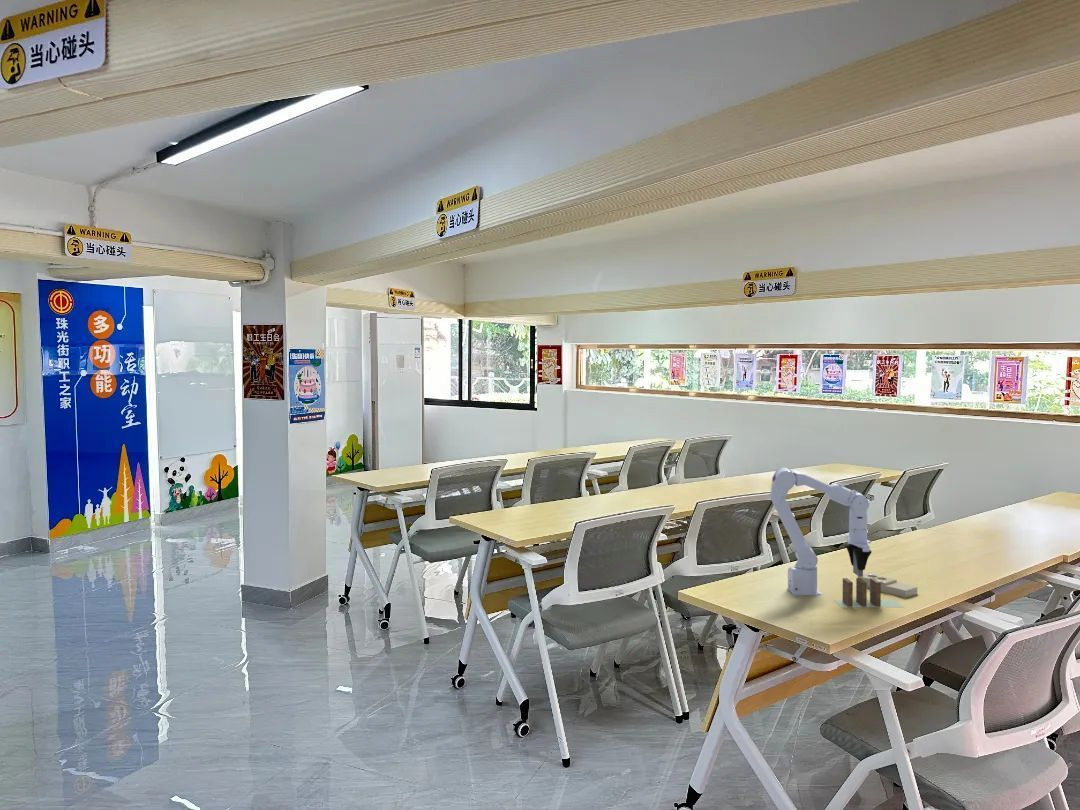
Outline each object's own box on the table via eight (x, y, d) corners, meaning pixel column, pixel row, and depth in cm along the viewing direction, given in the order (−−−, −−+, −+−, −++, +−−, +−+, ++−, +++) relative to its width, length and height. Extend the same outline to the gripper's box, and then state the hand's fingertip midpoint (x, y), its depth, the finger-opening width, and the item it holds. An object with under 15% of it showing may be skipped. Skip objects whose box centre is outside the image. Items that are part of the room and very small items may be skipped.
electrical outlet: (905, 587, 247) (857, 575, 262) (905, 599, 247) (857, 586, 262) (917, 584, 251) (869, 572, 266) (917, 595, 251) (869, 583, 266)
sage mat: (841, 608, 238) (841, 607, 238) (833, 601, 245) (833, 600, 245) (904, 607, 238) (904, 607, 238) (894, 601, 245) (894, 600, 245)
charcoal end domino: (858, 576, 249) (858, 553, 249) (853, 572, 254) (853, 549, 254) (863, 576, 249) (863, 553, 249) (857, 572, 254) (857, 549, 254)
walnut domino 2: (862, 606, 239) (862, 582, 238) (856, 601, 244) (856, 578, 243) (866, 606, 239) (866, 582, 238) (860, 601, 244) (860, 578, 243)
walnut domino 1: (848, 606, 239) (848, 582, 238) (842, 601, 244) (842, 578, 243) (852, 606, 239) (852, 582, 238) (846, 601, 244) (846, 578, 243)
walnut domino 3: (876, 606, 238) (876, 582, 238) (869, 601, 243) (870, 578, 243) (880, 606, 238) (880, 582, 238) (874, 601, 243) (874, 578, 243)
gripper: (878, 532, 243) (878, 573, 244) (861, 523, 258) (861, 561, 258) (857, 533, 244) (857, 573, 244) (841, 523, 258) (841, 561, 259)
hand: (858, 567), depth 251 cm, fingers closed on charcoal end domino, 5 cm apart
